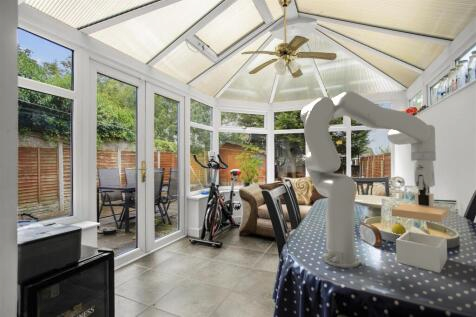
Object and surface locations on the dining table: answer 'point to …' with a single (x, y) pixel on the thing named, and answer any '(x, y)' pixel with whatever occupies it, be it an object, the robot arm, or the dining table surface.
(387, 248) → the dining table surface
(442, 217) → the lid
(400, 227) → the lemon
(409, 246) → the tub
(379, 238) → the tin
